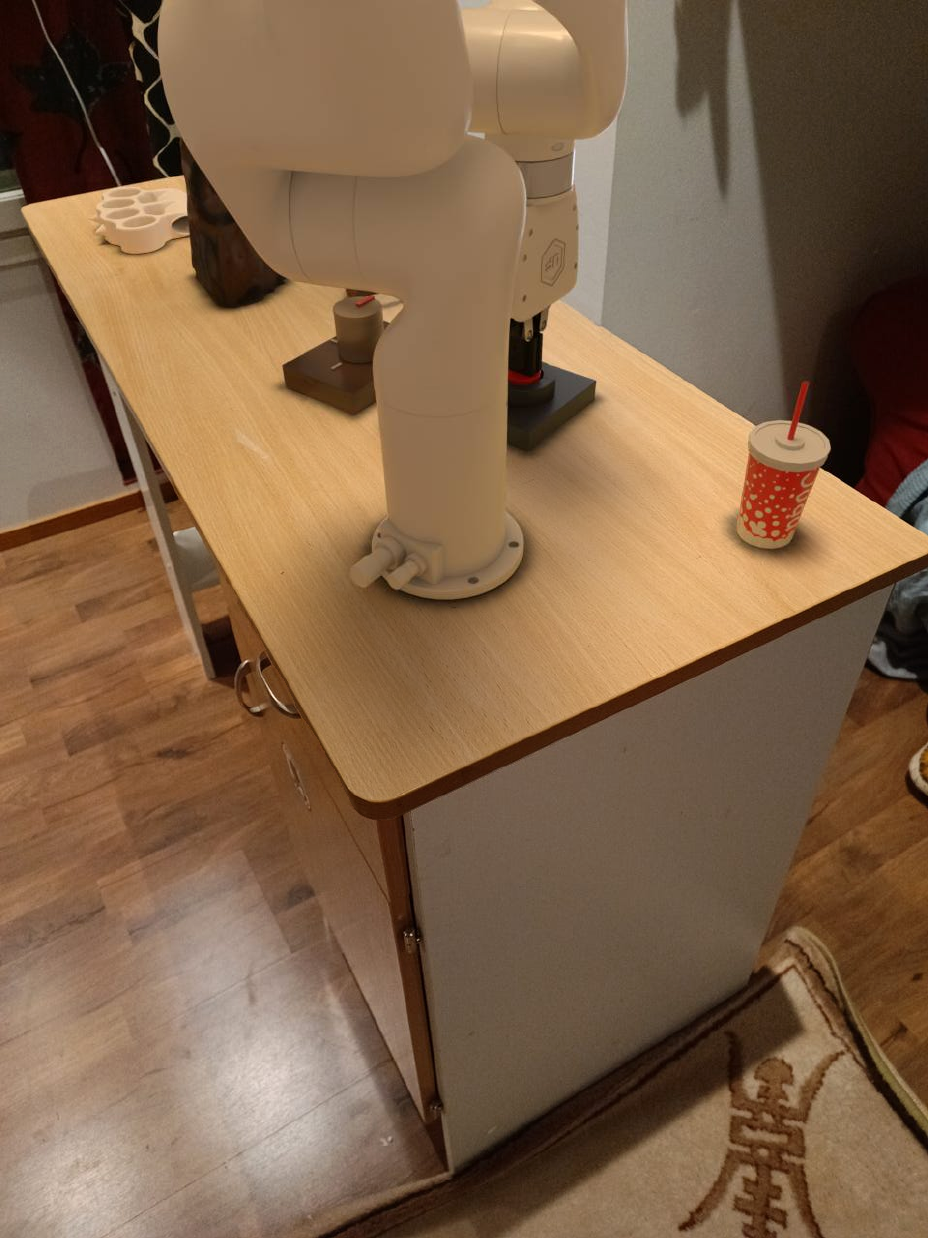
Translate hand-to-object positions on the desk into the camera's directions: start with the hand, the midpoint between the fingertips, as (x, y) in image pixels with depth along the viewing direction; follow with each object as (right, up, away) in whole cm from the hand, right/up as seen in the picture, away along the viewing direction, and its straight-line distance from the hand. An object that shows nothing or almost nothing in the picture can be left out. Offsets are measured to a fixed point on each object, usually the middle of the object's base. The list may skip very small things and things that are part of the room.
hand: (523, 369), depth 86 cm
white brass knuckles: (-52, +32, +40) cm, 73 cm away
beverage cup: (+20, -17, -12) cm, 29 cm away
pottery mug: (-17, +17, +25) cm, 35 cm away
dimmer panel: (-17, +2, +9) cm, 19 cm away
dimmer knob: (-17, +4, +7) cm, 18 cm away
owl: (-35, +18, +26) cm, 47 cm away
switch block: (0, -3, +3) cm, 4 cm away
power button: (0, -2, +1) cm, 2 cm away
